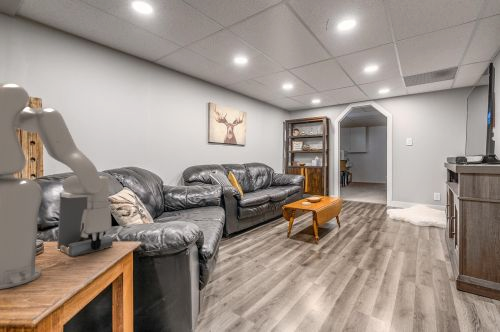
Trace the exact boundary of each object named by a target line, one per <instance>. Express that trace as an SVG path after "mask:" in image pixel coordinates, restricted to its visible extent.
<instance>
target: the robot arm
mask: <svg viewBox="0 0 500 332" xmlns="http://www.w3.org/2000/svg"><path fill="white" fill-rule="evenodd" d="M29 103H30V95H29V93H28V91H27V90H25V88H24V87H22V86H21V85H18V84H15V83H11V82H10V83H8V82H7V83H6V82H4V83H2V82H1V83H0V290H3V289H8V288H13V287H17V286H21V285H23V284H26V283H29V282H32V281H34V280H36V279H37V278H40V276H41V275H42V270H41V268H37V267H36V261H37V260H36V258H37V257H36V256H37V237H38V217H39V211H40V207H41V203H42V200H43V199H42V198H43V189H42V187H41V185H40V184H39V183H38V182H37V181H35V180H32V179H31V178H27V177H26V178H25V177H16V176H15V175H16V174H18V173H20V172H22V171H23V170H24V169H25V168H26V166H27V159H26V156H25V153H24V150H23V148H22V145H21V142H20V140H19V137H18V134H17V130H16V129H19V130H21V131H23V132H27V133H31V134H37V135H38V137H39V138H40V139H39V140H40V141H41V143H42V145H43V146H44V148H45V151H46V153H47V154H48V155H49V157H50V158H52V159H54V160H56V161H57V162H60V163H62V164H63V165H65V166H66V167H68V169H70V170H71V171H72V172H73V173H74V174H75V175H71V176H68V177H67V178H65V179H64V180H63V181H62V182H61V183H62V184H61V185H62V189H63V191H64V192H65V193H70V194H76V195H87V209H84V212H83V215H82V221H81V232H82V234H81V237H86V238H87V237H88V238H89V239H91V248H92V249H93V250H97V249H100V246H101V239H102V237H105V236H106V235H107V234H109V233H111V232H112V231H111V228H112V216H111V215H112V214H111V208H110V207H109V205H112V201H109V194H110V193H109V189H110V178H109V177H108V176H105V175H104V176H103V175H100V174H99V171H98V169H97V168H96V165H95V164H94V163H93V162H92V161H91V160H90V159H89V157H88V156H87V155H85V153H83V152H82V151H81V150H80V149H79V148H78V147H77V145H76V142H75V141H74V139H73V136H72V135H71V132H70V131H69V128H68V126H67V123H66V121H65V120H64V117H63V116H62V114H61V113H60V112H59V111H58V110H56V109H55V108H51V107H36V108H33V107H29ZM96 233H97V236H96ZM97 251H98V250H97Z"/></svg>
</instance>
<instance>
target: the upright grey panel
mask: <svg viewBox="0 0 500 332" xmlns="http://www.w3.org/2000/svg"><path fill="white" fill-rule="evenodd" d="M58 206H59V207H58V208H59V209H58V225H57V226H58V227H57V228H58V229H57V230H58V232H57V249H60V246H62V245H63V246H65V247H69V244H72V243H75V241H76V240H77V239H78V238H79V237H80V236H81V234H82V232H81V221H82V215H83V212H84V209H87V195H76V194H70V193H67V192H60V193H59V205H58ZM96 236H97V233H96Z"/></svg>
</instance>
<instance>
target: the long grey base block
mask: <svg viewBox="0 0 500 332" xmlns="http://www.w3.org/2000/svg"><path fill="white" fill-rule="evenodd" d="M113 239H114V237H112V236H110V235H105V236H103V237H102V239H101V246H100V249H97V250H93V249H92V248H91V240H86V241H82V242H77V243H72V244H69V248H68V247H65V246H63V245H62V246H60V250H61V251H60V250H59V251H60V252H63V253H65V254H66V255H69V256H70V257H76V256H81V255H85V254H88V253H92V252H96V251H101V250H105V249H104V248H106V249H108V247H110V248H112V247H113V242H114V241H113ZM111 246H112V247H111Z"/></svg>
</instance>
